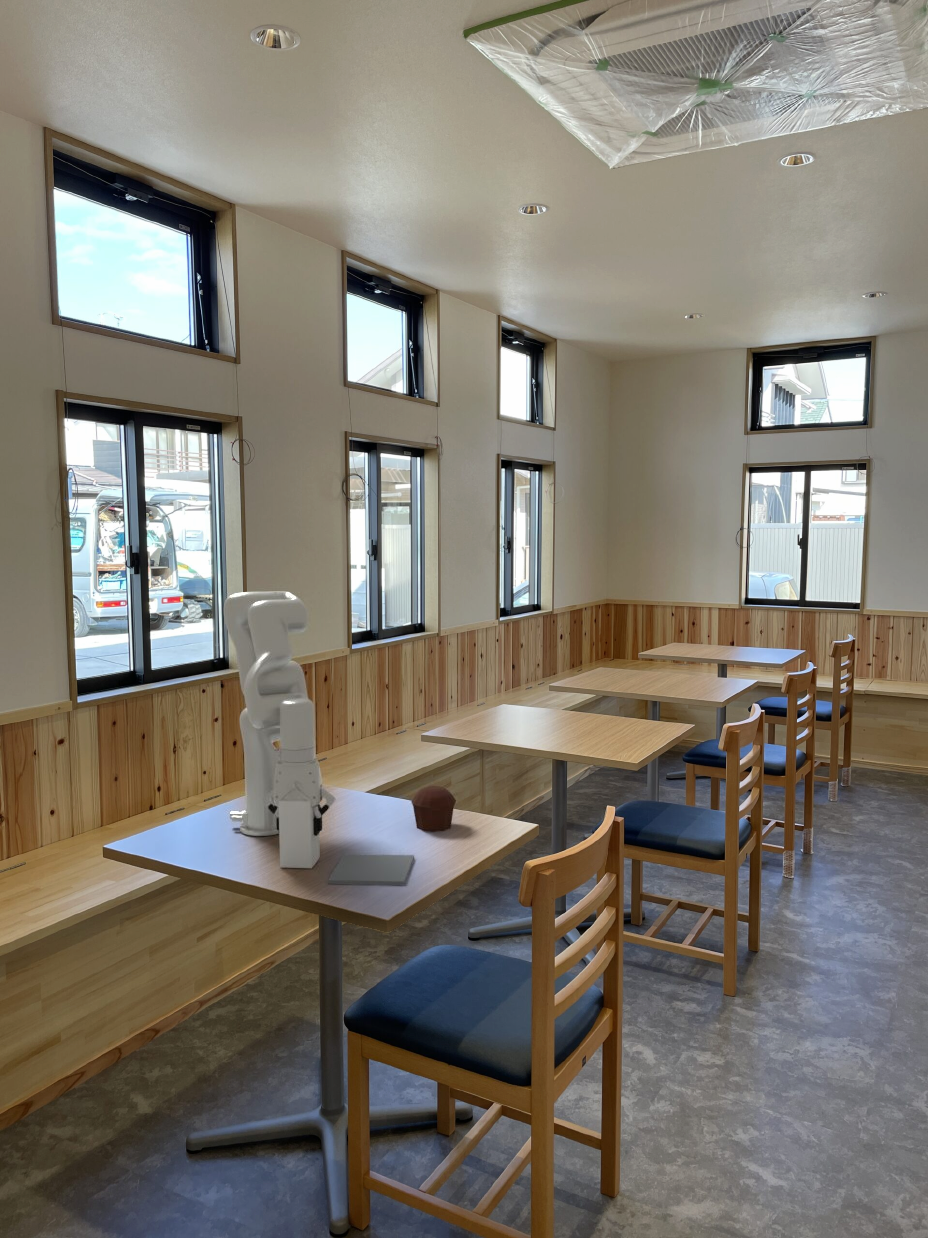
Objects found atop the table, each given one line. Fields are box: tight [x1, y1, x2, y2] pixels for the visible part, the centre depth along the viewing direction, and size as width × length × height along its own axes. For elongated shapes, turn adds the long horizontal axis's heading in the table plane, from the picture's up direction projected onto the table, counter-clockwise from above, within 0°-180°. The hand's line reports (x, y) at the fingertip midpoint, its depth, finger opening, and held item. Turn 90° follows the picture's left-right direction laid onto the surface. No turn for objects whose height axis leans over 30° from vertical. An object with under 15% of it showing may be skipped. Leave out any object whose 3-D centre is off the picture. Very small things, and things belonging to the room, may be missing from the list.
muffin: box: [410, 785, 457, 833], centre depth 223 cm, size 12×11×10 cm
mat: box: [327, 853, 415, 886], centre depth 192 cm, size 16×16×1 cm
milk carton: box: [278, 783, 321, 869], centre depth 197 cm, size 7×7×19 cm
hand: (299, 833), depth 197 cm, fingers closed on milk carton, 7 cm apart
